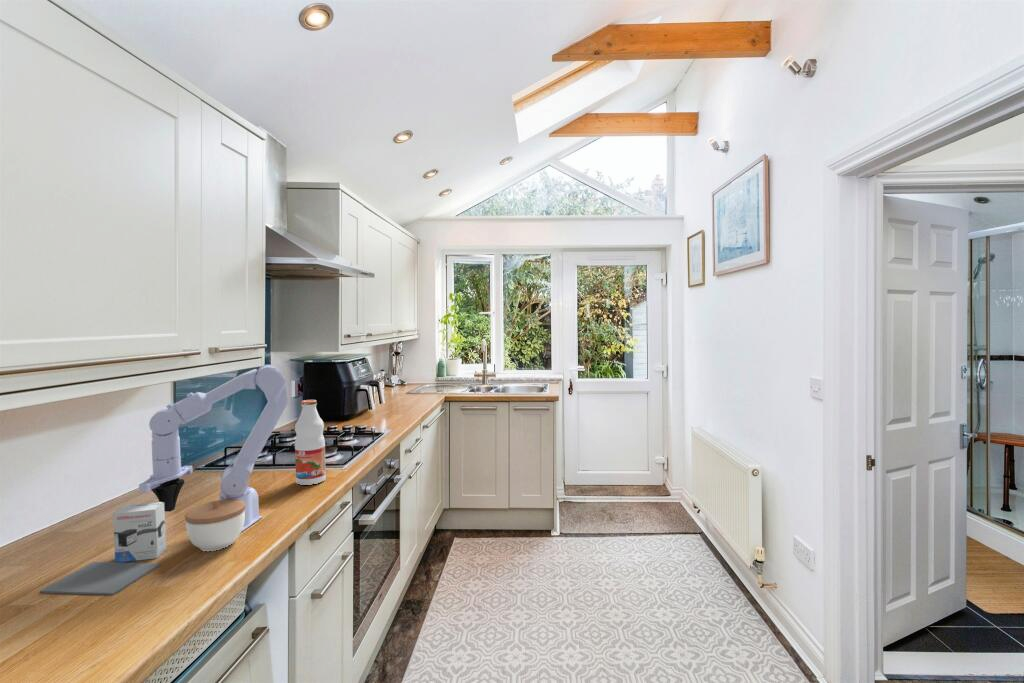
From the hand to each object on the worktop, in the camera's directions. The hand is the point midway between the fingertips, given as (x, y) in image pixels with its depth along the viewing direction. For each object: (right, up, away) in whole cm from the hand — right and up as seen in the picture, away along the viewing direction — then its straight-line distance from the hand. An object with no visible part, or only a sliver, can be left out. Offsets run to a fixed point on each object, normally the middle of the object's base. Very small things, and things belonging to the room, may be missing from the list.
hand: (168, 510), depth 119 cm
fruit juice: (+18, -6, +42) cm, 46 cm away
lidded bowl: (+14, -8, -3) cm, 16 cm away
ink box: (0, -8, -8) cm, 12 cm away
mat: (-1, -8, -18) cm, 20 cm away
